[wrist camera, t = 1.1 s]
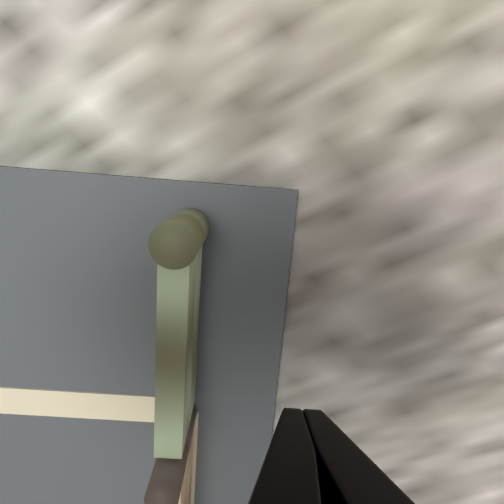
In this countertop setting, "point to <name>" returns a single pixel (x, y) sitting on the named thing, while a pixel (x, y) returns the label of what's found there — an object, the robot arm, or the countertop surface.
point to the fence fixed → (173, 475)
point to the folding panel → (176, 325)
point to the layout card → (132, 334)
